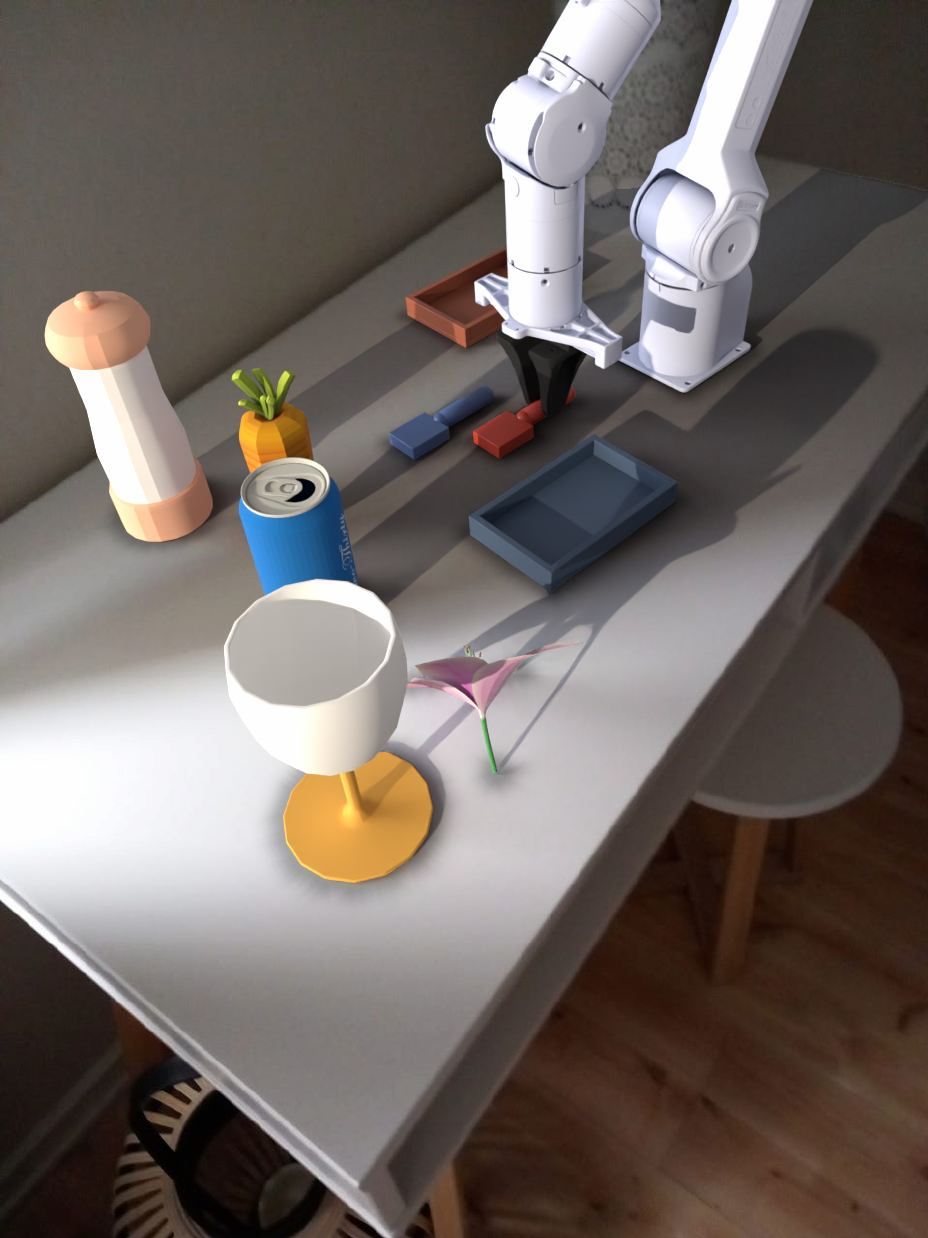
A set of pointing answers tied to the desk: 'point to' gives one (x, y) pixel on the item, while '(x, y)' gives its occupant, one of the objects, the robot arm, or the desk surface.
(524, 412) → the red handled block
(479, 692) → the lily
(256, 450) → the carrot
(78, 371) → the pepper shaker
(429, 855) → the desk surface
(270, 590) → the beverage can
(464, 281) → the red tray
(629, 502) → the blue tray
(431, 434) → the blue handled block
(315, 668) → the cup
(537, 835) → the desk surface
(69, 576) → the desk surface
